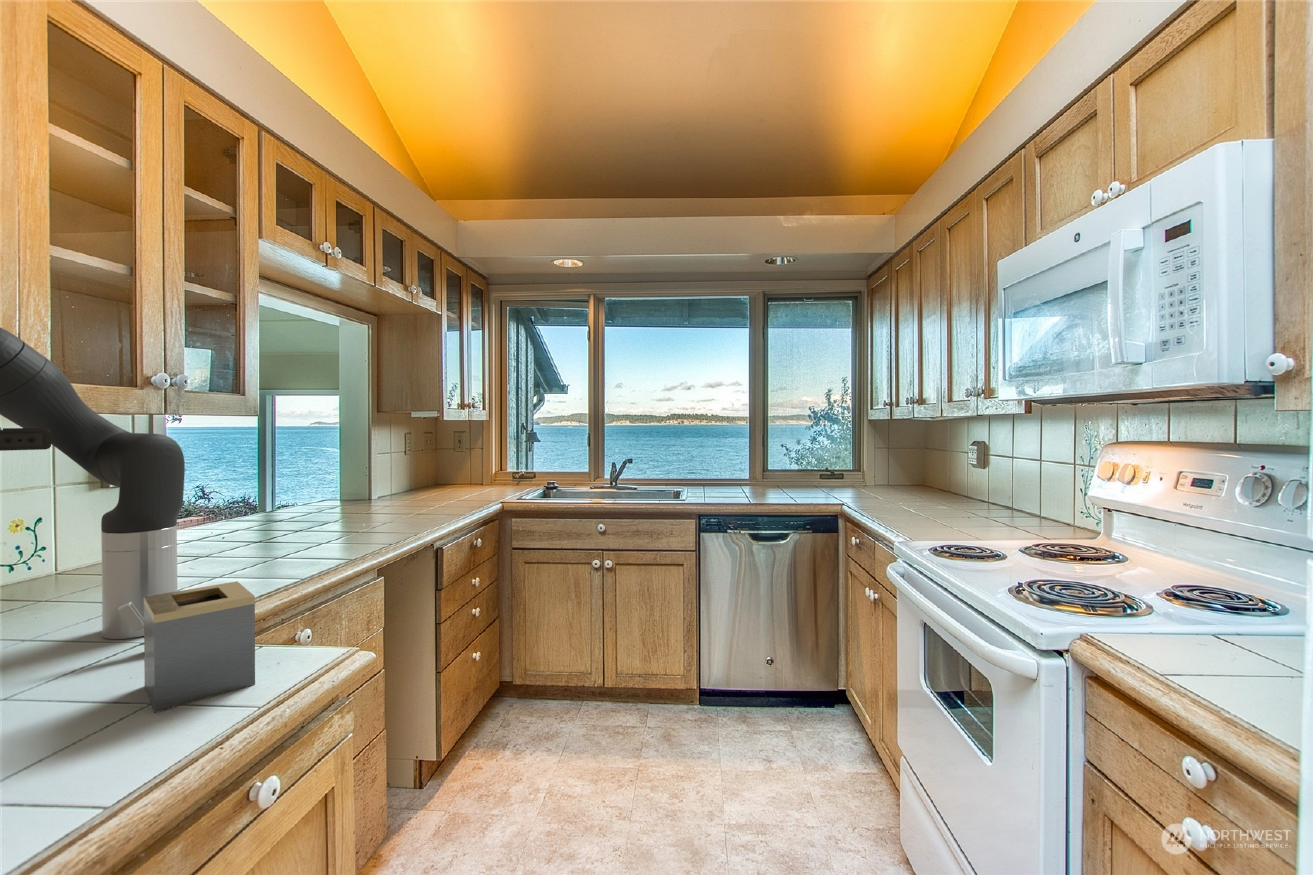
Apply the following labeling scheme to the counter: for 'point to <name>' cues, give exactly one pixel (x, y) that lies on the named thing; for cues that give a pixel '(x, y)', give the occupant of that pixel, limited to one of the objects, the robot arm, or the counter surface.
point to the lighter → (131, 616)
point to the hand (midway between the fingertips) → (50, 438)
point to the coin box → (198, 644)
